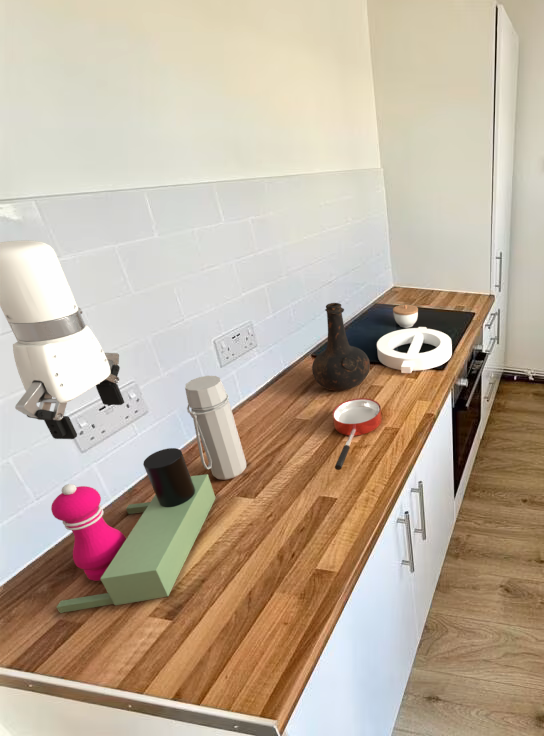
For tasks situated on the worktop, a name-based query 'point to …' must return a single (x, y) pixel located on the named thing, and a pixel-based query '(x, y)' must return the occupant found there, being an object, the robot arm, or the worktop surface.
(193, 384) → the water bottle
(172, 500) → the spice tin
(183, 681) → the worktop surface
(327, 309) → the glass bottle
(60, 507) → the pepper mill
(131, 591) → the riser
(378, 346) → the white circle with bar
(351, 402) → the frying pan
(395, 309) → the trinket box
